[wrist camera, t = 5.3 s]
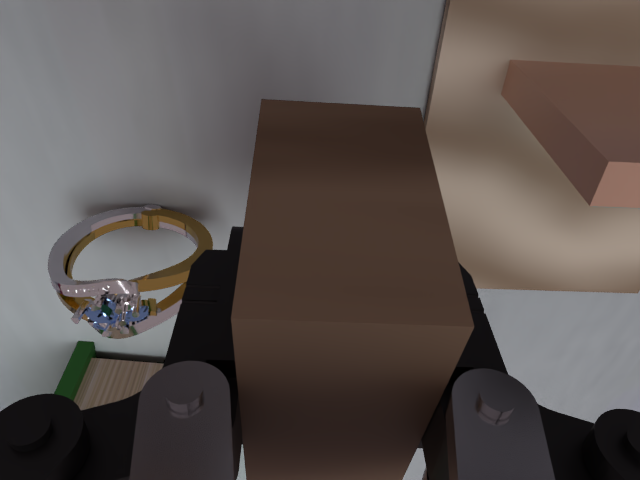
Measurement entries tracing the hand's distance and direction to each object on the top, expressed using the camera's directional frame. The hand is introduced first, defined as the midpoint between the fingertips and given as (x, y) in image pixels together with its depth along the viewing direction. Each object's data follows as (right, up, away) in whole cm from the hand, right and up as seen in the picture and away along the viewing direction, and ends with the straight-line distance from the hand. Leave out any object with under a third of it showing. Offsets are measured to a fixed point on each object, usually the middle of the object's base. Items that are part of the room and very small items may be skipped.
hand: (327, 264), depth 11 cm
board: (+12, +5, +14) cm, 19 cm away
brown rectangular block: (0, 0, +2) cm, 2 cm away
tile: (+12, +7, +11) cm, 18 cm away
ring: (-9, +2, +16) cm, 18 cm away
